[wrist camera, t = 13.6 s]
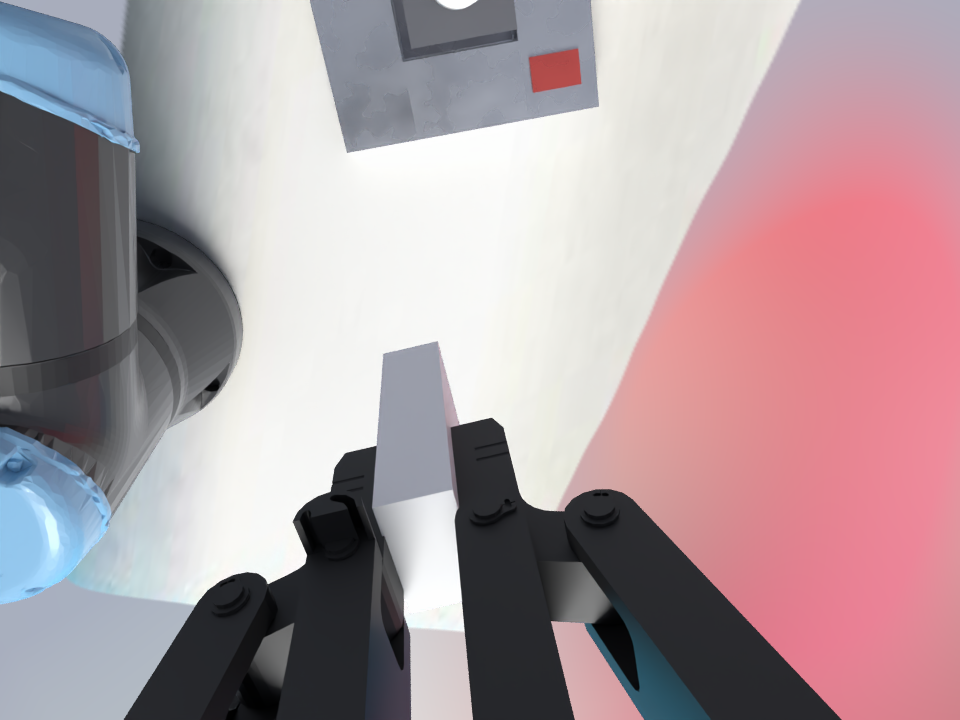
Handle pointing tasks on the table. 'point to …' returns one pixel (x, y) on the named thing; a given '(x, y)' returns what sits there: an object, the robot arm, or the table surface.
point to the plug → (456, 19)
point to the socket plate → (452, 71)
